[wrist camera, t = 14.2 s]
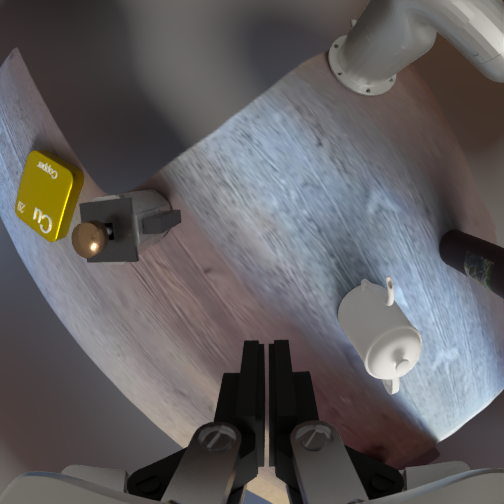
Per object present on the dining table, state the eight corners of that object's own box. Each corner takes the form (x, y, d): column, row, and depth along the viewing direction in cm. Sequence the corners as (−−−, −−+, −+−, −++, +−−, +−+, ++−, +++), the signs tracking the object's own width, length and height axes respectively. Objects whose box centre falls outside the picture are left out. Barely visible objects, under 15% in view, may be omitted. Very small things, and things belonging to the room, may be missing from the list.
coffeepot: (377, 234, 46) (434, 267, 28) (395, 347, 52) (432, 405, 33) (320, 253, 47) (351, 299, 29) (347, 364, 53) (372, 430, 35)
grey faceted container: (123, 191, 46) (75, 199, 32) (184, 185, 45) (151, 190, 31) (128, 242, 48) (85, 266, 34) (188, 240, 48) (158, 266, 34)
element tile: (88, 173, 46) (73, 174, 41) (66, 241, 49) (52, 247, 45) (43, 147, 44) (28, 147, 40) (25, 210, 48) (11, 214, 43)
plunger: (116, 201, 41) (60, 214, 27) (153, 197, 41) (104, 209, 27) (120, 241, 43) (69, 268, 29) (157, 240, 42) (112, 269, 28)
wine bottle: (436, 235, 45) (554, 292, 16) (461, 225, 44) (576, 270, 15) (440, 268, 47) (544, 341, 18) (464, 257, 46) (568, 317, 17)
